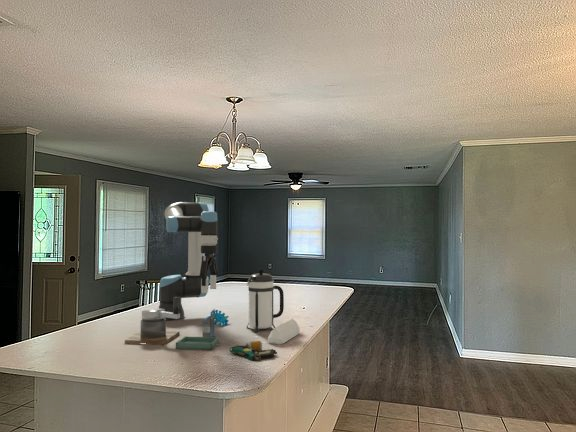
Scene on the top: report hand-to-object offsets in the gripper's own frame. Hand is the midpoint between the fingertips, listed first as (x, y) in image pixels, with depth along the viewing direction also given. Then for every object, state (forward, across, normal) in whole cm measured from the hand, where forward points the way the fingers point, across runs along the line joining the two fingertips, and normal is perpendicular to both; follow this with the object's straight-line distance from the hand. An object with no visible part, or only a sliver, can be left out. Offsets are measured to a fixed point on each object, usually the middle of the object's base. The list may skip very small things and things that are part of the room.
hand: (208, 291), depth 200 cm
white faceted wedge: (+22, +2, -35) cm, 41 cm away
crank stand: (+21, -6, +24) cm, 33 cm away
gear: (+21, +25, +2) cm, 33 cm away
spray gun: (+22, -24, -26) cm, 42 cm away
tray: (+21, -15, 0) cm, 26 cm away
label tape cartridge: (+21, 0, 0) cm, 21 cm away
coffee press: (+21, +19, -22) cm, 36 cm away
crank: (+12, -8, +19) cm, 24 cm away
